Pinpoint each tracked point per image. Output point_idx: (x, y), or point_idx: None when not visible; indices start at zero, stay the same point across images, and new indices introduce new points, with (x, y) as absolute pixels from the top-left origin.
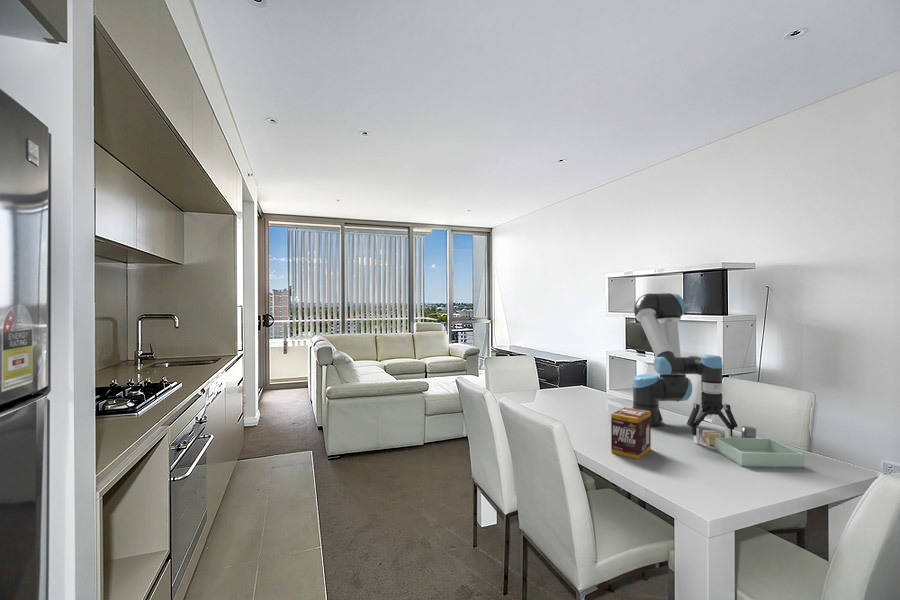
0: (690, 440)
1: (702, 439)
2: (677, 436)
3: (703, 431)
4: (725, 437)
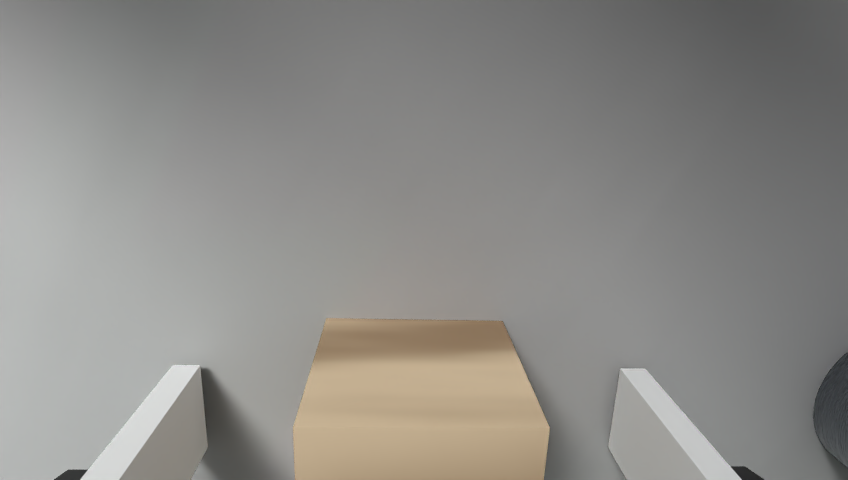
0: (167, 266)
1: (321, 336)
2: (13, 58)
3: (296, 457)
4: (655, 427)
